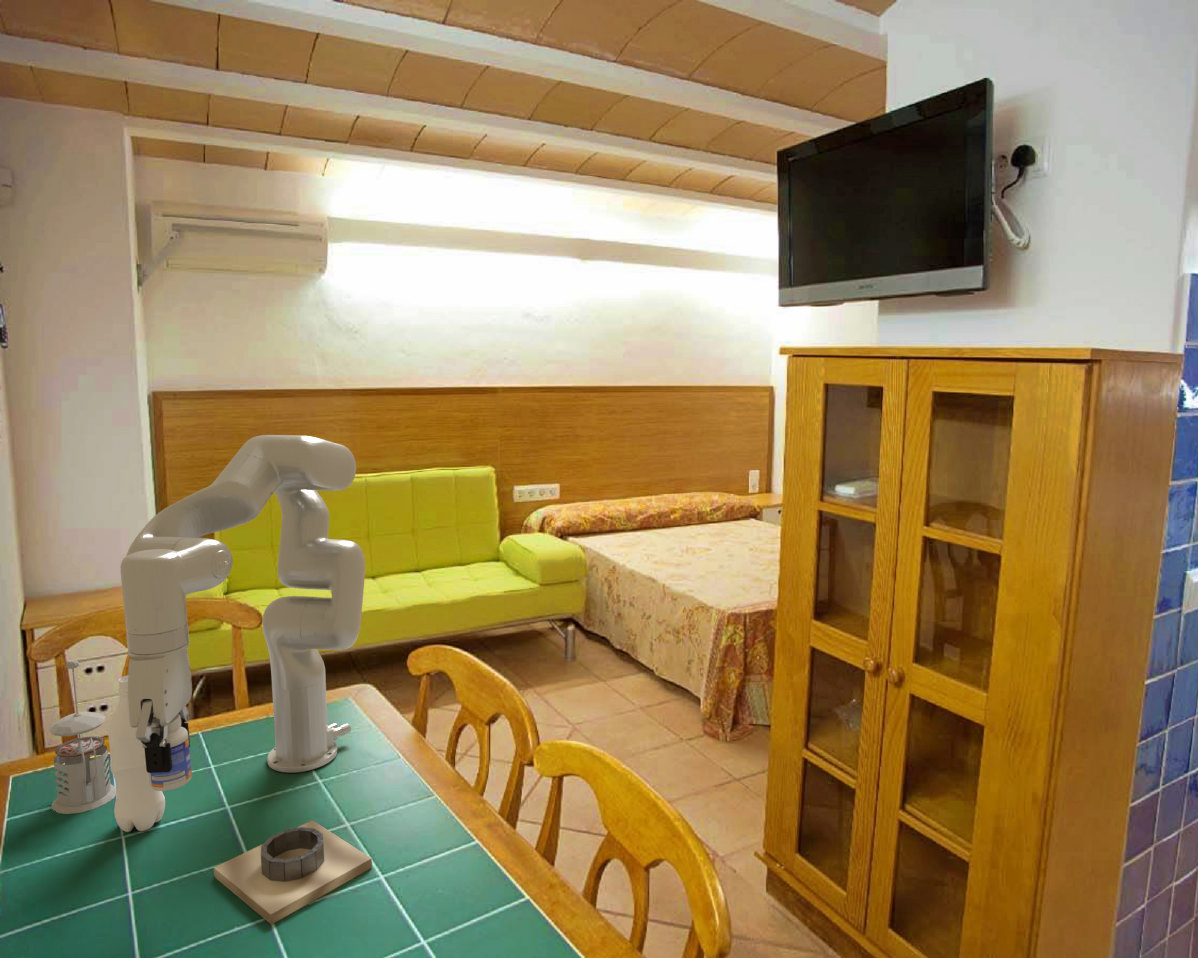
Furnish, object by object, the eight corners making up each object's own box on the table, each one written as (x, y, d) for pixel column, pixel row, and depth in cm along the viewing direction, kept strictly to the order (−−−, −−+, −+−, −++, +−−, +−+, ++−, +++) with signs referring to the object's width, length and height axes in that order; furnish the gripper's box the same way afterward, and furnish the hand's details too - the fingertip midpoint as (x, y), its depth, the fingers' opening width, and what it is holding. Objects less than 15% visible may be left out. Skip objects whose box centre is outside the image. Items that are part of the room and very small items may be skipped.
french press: (109, 777, 146) (97, 645, 143) (127, 802, 138) (115, 663, 134) (45, 797, 139) (31, 660, 136) (60, 825, 131) (46, 679, 128)
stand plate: (312, 828, 130) (312, 820, 130) (371, 867, 120) (371, 858, 120) (214, 876, 118) (213, 867, 118) (271, 924, 108) (270, 914, 108)
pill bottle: (198, 781, 115) (192, 717, 114) (157, 796, 111) (151, 730, 110) (183, 768, 119) (178, 706, 117) (143, 782, 115) (137, 718, 113)
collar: (304, 838, 125) (303, 820, 125) (335, 860, 120) (334, 841, 119) (250, 865, 118) (249, 846, 118) (281, 889, 113) (280, 869, 113)
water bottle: (144, 838, 127) (131, 688, 124) (105, 833, 129) (91, 685, 125) (176, 814, 134) (165, 671, 131) (139, 809, 136) (127, 668, 132)
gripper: (157, 619, 120) (167, 733, 123) (98, 663, 103) (111, 794, 106) (209, 617, 120) (218, 731, 123) (160, 661, 104) (171, 791, 106)
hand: (169, 759), depth 114 cm, fingers closed on pill bottle, 5 cm apart
